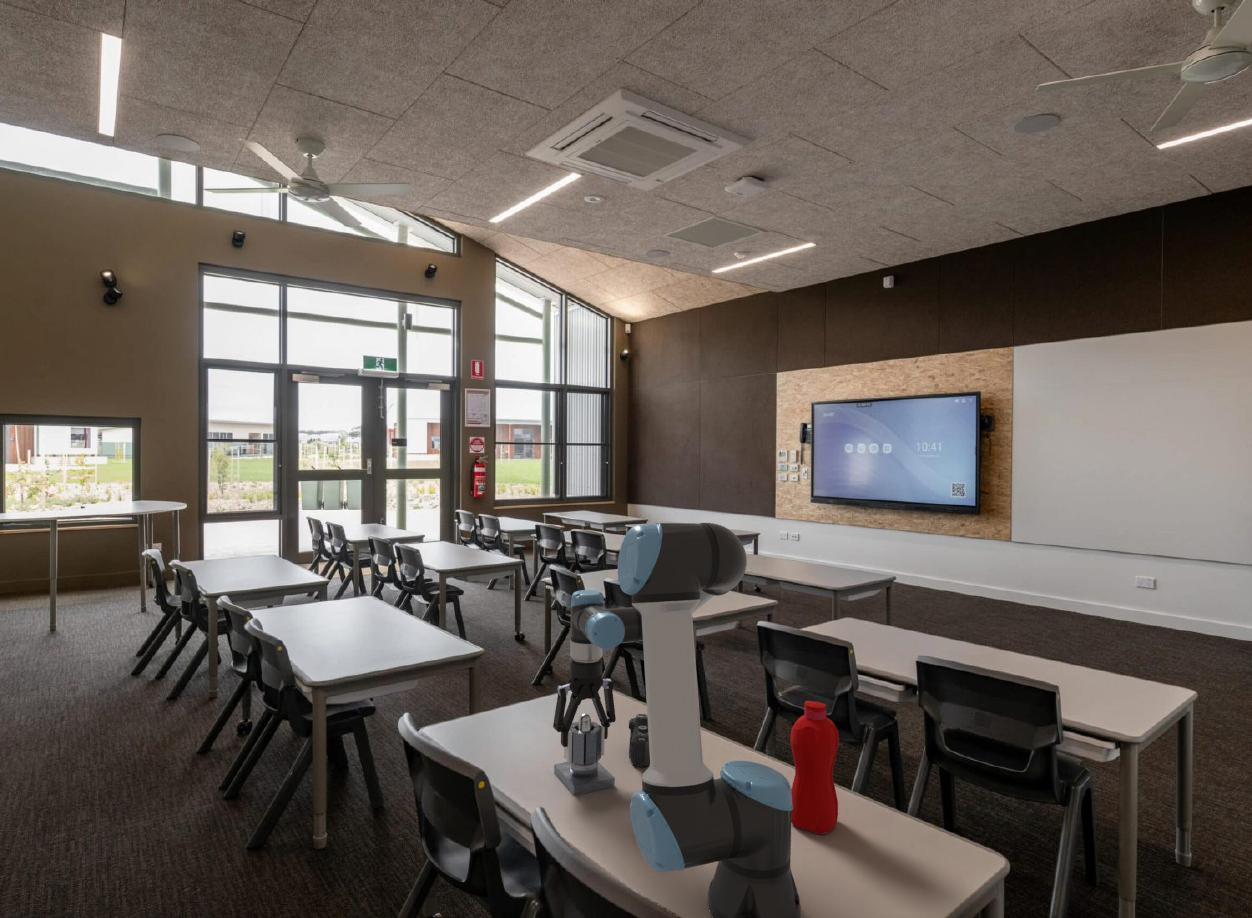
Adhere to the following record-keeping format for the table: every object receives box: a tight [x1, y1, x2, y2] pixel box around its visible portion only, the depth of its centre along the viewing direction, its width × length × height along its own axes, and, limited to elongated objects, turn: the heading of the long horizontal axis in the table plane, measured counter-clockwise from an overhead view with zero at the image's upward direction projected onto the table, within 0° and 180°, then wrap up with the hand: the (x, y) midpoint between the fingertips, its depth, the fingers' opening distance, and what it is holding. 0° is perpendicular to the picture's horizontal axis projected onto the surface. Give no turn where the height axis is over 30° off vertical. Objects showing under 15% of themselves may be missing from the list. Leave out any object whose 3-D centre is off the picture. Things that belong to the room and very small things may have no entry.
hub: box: [569, 721, 602, 765], centre depth 159 cm, size 8×8×7 cm
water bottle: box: [789, 700, 840, 835], centre depth 143 cm, size 9×11×25 cm
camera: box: [628, 712, 650, 768], centre depth 172 cm, size 13×10×10 cm
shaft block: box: [553, 712, 616, 797], centre depth 159 cm, size 12×10×15 cm
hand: (584, 756), depth 159 cm, fingers closed on hub, 7 cm apart
